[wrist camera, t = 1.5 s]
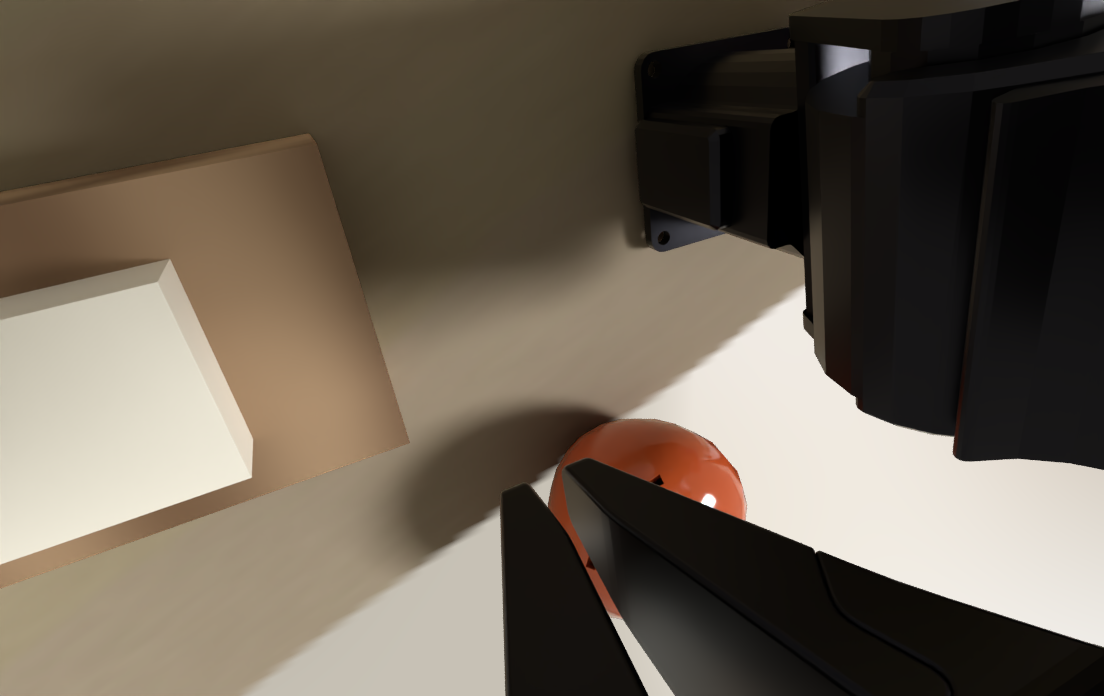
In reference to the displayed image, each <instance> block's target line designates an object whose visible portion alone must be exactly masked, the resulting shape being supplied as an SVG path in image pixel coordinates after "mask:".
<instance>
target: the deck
mask: <svg viewBox="0 0 1104 696" xmlns="http://www.w3.org/2000/svg"><path fill="white" fill-rule="evenodd" d="M166 259H170V260H171V262H172V264H173V267H174V269H175V271H176V273H177V275H178V277H179V280H180V282H181V284H182V286H183V288H184V290H185V293H186V295H187V297H188V299H189V301H190V303H191V306H192V308H193V310H194V312H195V314H196V316H197V319H198V321H199V323H200V325H201V327H202V329H203V332H204V334H205V336H206V338H207V340H208V342H209V345H210V347H211V349H212V351H213V353H214V355H215V358H216V360H217V362H218V364H219V366H220V368H221V371H222V373H223V375H224V377H225V379H226V381H227V384H228V386H229V388H230V390H231V392H232V394H233V397H234V399H235V401H236V403H237V405H238V407H239V410H240V412H241V414H242V416H243V418H244V420H245V423H246V425H247V427H248V429H249V431H250V433H251V436H252V438H253V455H252V478H249V479H246V480H244V481H241V482H238V483H235V484H232V485H229V486H226V487H223V488H220V489H218V490H215V491H212V492H209V493H206V494H203V495H200V496H197V497H194V498H192V499H189V500H186V501H183V502H180V503H177V504H174V505H171V506H168V507H165V508H163V509H160V510H157V511H154V512H151V513H148V514H145V515H142V516H139V517H137V518H134V519H131V520H128V521H125V522H122V523H119V524H116V525H113V526H111V527H108V528H105V529H102V530H99V531H96V532H93V533H90V534H87V535H84V536H82V537H79V538H76V539H73V540H70V541H67V542H64V543H61V544H58V545H56V546H53V547H50V548H47V549H44V550H41V551H38V552H35V553H32V554H30V555H27V556H24V557H21V558H18V559H15V560H12V561H9V562H6V563H3V564H1V565H0V588H3V587H6V586H9V585H12V584H15V583H17V582H20V581H23V580H26V579H29V578H31V577H34V576H37V575H40V574H43V573H45V572H48V571H51V570H54V569H57V568H60V567H62V566H65V565H68V564H71V563H74V562H76V561H79V560H82V559H85V558H88V557H90V556H93V555H96V554H99V553H102V552H104V551H107V550H110V549H113V548H116V547H119V546H121V545H124V544H127V543H130V542H133V541H135V540H138V539H141V538H144V537H147V536H149V535H152V534H155V533H158V532H161V531H164V530H166V529H169V528H172V527H175V526H178V525H180V524H183V523H186V522H189V521H192V520H194V519H197V518H200V517H203V516H206V515H209V514H211V513H214V512H217V511H220V510H223V509H225V508H228V507H231V506H234V505H237V504H239V503H242V502H245V501H248V500H251V499H253V498H256V497H259V496H262V495H265V494H268V493H270V492H273V491H276V490H279V489H282V488H284V487H287V486H290V485H293V484H296V483H298V482H301V481H304V480H307V479H310V478H313V477H315V476H318V475H321V474H324V473H327V472H329V471H332V470H335V469H338V468H341V467H343V466H346V465H349V464H352V463H355V462H358V461H360V460H363V459H366V458H369V457H372V456H374V455H377V454H380V453H383V452H386V451H388V450H391V449H394V448H397V447H400V446H402V445H405V444H408V443H410V442H409V438H408V435H407V432H406V429H405V426H404V422H403V419H402V416H401V413H400V410H399V406H398V403H397V400H396V397H395V393H394V390H393V387H392V384H391V381H390V377H389V374H388V371H387V368H386V365H385V361H384V358H383V355H382V352H381V348H380V345H379V342H378V339H377V336H376V332H375V329H374V326H373V323H372V320H371V316H370V313H369V310H368V307H367V303H366V300H365V297H364V294H363V291H362V287H361V284H360V281H359V278H358V275H357V271H356V268H355V265H354V262H353V258H352V255H351V252H350V249H349V246H348V242H347V239H346V236H345V233H344V230H343V226H342V223H341V220H340V217H339V213H338V210H337V207H336V204H335V201H334V197H333V194H332V191H331V188H330V185H329V181H328V178H327V175H326V172H325V168H324V165H323V162H322V159H321V156H320V152H319V149H318V146H317V143H316V142H315V141H314V139H313V138H312V137H311V135H310V134H309V133H307V134H302V135H297V136H292V137H286V138H281V139H276V140H271V141H265V142H260V143H255V144H249V145H244V146H239V147H234V148H228V149H223V150H218V151H213V152H207V153H202V154H197V155H191V156H186V157H181V158H176V159H170V160H165V161H160V162H155V163H149V164H144V165H139V166H133V167H128V168H123V169H118V170H112V171H107V172H102V173H97V174H91V175H86V176H81V177H76V178H70V179H65V180H60V181H54V182H49V183H44V184H39V185H33V186H28V187H23V188H18V189H12V190H7V191H2V192H0V298H4V297H8V296H13V295H17V294H21V293H25V292H30V291H34V290H38V289H42V288H47V287H51V286H55V285H59V284H64V283H68V282H72V281H77V280H81V279H85V278H89V277H94V276H98V275H102V274H106V273H111V272H115V271H119V270H123V269H128V268H132V267H136V266H141V265H145V264H149V263H153V262H158V261H162V260H166Z"/></svg>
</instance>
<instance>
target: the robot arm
mask: <svg viewBox="0 0 1104 696" xmlns="http://www.w3.org/2000/svg"><path fill="white" fill-rule="evenodd" d="M789 38H790V41H791V43H790V47H789V48H788V46H787V42H788V39H789ZM650 62H652V63H653V64H654V67H655V71H654V74H653V75H652V77H650V76H649V74H648V66H649V64H650ZM634 75H635V89H636V104H637V118H638V124H637V126H636V128H635V138H636V152H637V166H638V180H639V194H640V201H641V203H643V205H644V220H645V234H646V242H647V244H648V246H649V247H650V248H652V249H655V250H657V251H659V252H664V251H668V250H671V249H674V248H678V247H681V246H685V245H688V244H691V243H695V242H698V241H701V240H705V239H708V238H711V237H715V236H718V235H722V234H725V233H727V234H730V235H733V236H736V237H739V238H741V239H744V240H747V241H750V242H753V243H756V244H759V245H762V246H765V247H768V248H771V249H777V250H780V251H783V252H786V253H789V254H792V255H795V256H798V257H800V258H803V259H804V268H805V290H806V309H805V310H804V311H803V325H804V329H805V330H806V331H807V332H808V333H809V335H810V336H811V337H812V338H813V339H814V349H815V355H816V357H817V359H818V361H819V362H820V364H821V366H822V368H823V370H824V372H825V374H826V375H827V376H828V377H830V378H831V379H832V380H833V381H835V382H836V383H837V384H839V385H840V386H841V387H843V388H844V389H845V390H846V391H847V392H849V393H850V394H851V395H853V396H855V397H856V405H857V408H858V409H860V410H861V411H862V412H864V413H866V414H869V415H871V416H874V417H876V418H879V419H881V420H884V421H886V422H889V423H891V424H893V425H896V426H899V427H903V428H907V429H911V430H915V431H919V432H924V433H927V434H932V435H941V436H950V437H954V444H953V455H954V456H955V457H956V458H957V459H959V460H962V461H986V460H1002V459H1028V460H1040V461H1051V462H1063V463H1072V464H1076V465H1082V466H1087V467H1092V468H1097V469H1102V470H1104V0H829V1H827V2H824V3H821V4H818V5H815V6H812V7H809V8H806V9H804V10H801V11H798V12H795V13H792V14H790V15H789V27H784V28H778V29H773V30H767V31H761V32H756V33H750V34H745V35H739V36H734V37H728V38H723V39H717V40H711V41H706V42H700V43H695V44H689V45H684V46H678V47H673V48H667V49H661V50H656V51H650V52H646V53H644V54H642V55H641V56H640V57H639V58H638V59H637V61H636V64H635V70H634ZM661 232H663V233H664V236H663V239H662V240H661V241H660V242H658V236H659V234H660V233H661ZM562 480H563V486H564V492H565V498H566V504H567V510H568V514H569V517H570V520H571V522H572V525H573V527H574V529H575V531H576V533H577V535H578V536H579V538H580V540H581V542H582V544H583V546H584V548H585V550H586V552H587V553H588V555H589V557H590V559H591V561H592V563H593V565H594V567H595V569H596V570H597V572H598V574H599V576H600V578H601V580H602V582H603V584H604V586H605V587H606V589H607V591H608V593H609V595H610V597H611V599H612V601H613V602H614V604H615V606H616V608H617V610H618V611H619V613H620V615H621V617H622V618H623V620H624V621H625V623H626V625H627V626H628V628H629V629H630V631H631V632H632V634H633V635H634V637H635V638H636V639H637V641H638V643H639V644H640V645H641V647H642V648H643V650H644V651H645V653H646V654H647V655H648V657H649V658H650V660H651V661H652V663H653V664H654V666H655V667H656V669H657V670H658V672H659V673H660V674H661V676H662V677H663V679H664V680H665V682H666V683H667V685H668V686H669V687H670V689H671V690H672V692H673V693H674V695H675V696H1104V647H1102V646H1098V645H1095V644H1091V643H1088V642H1084V641H1081V640H1078V639H1075V638H1072V637H1068V636H1065V635H1062V634H1059V633H1056V632H1053V631H1050V630H1046V629H1043V628H1040V627H1037V626H1034V625H1031V624H1027V623H1025V622H1021V621H1018V620H1015V619H1012V618H1009V617H1006V616H1002V615H999V614H996V613H993V612H990V611H987V610H984V609H981V608H977V607H974V606H971V605H968V604H965V603H962V602H959V601H955V600H952V599H949V598H946V597H943V596H940V595H937V594H935V593H932V592H929V591H926V590H923V589H920V588H917V587H914V586H911V585H908V584H905V583H902V582H899V581H896V580H894V579H891V578H888V577H886V576H883V575H880V574H878V573H875V572H872V571H870V570H867V569H865V568H862V567H859V566H857V565H854V564H852V563H849V562H847V561H844V560H841V559H839V558H837V557H834V556H832V555H829V554H826V553H824V552H822V551H818V552H816V554H815V551H814V549H813V548H811V547H809V546H807V545H804V544H802V543H799V542H797V541H794V540H792V539H789V538H787V537H784V536H782V535H779V534H777V533H774V532H772V531H770V530H767V529H764V528H762V527H759V526H757V525H755V524H752V523H750V522H747V521H745V520H742V519H740V518H737V517H735V516H733V515H730V514H728V513H725V512H723V511H720V510H718V509H715V508H713V507H710V506H708V505H705V504H703V503H700V502H698V501H696V500H693V499H691V498H688V497H686V496H683V495H681V494H678V493H676V492H673V491H671V490H668V489H666V488H663V487H661V486H659V485H656V484H654V483H651V482H649V481H646V480H644V479H641V478H639V477H636V476H634V475H631V474H629V473H626V472H624V471H622V470H619V469H617V468H614V467H612V466H609V465H607V464H604V463H602V462H599V461H597V460H594V459H592V458H583V459H581V460H578V461H576V462H573V463H571V464H568V465H566V466H564V468H563V469H562ZM500 519H501V554H502V588H503V624H504V659H505V693H506V696H648V694H647V692H646V690H645V688H644V686H643V684H642V682H641V680H640V677H639V675H638V673H637V672H636V670H635V668H634V665H633V663H632V661H631V659H630V657H629V655H628V653H627V651H626V649H625V647H624V645H623V643H622V641H621V639H620V637H619V635H618V633H617V631H616V629H615V627H614V625H613V623H612V621H611V619H610V617H609V615H608V613H607V611H606V609H605V607H604V604H603V602H602V600H601V598H600V596H599V594H598V592H597V590H596V588H595V586H594V584H593V582H592V580H591V578H590V576H589V574H588V572H587V570H586V568H585V566H584V564H583V562H582V560H581V558H580V556H579V554H578V552H577V550H576V548H575V546H574V544H573V542H572V540H571V538H570V537H569V535H568V533H567V532H566V530H565V529H564V528H563V526H562V525H561V524H560V522H559V521H558V520H557V518H556V517H555V516H554V515H553V513H552V512H551V511H550V510H549V508H548V507H547V506H546V504H545V503H544V502H543V501H542V499H541V498H540V497H539V496H538V494H537V493H536V492H535V490H534V489H533V488H532V487H531V486H530V485H529V484H528V483H525V482H524V483H521V484H518V485H516V486H513V487H511V488H508V489H506V490H503V491H502V492H501V494H500Z"/></svg>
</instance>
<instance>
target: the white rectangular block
mask: <svg viewBox="0 0 1104 696" xmlns="http://www.w3.org/2000/svg"><path fill="white" fill-rule="evenodd" d="M252 455H253V438H252V436H251V433H250V431H249V429H248V427H247V425H246V423H245V420H244V418H243V416H242V414H241V412H240V410H239V407H238V405H237V403H236V401H235V399H234V397H233V394H232V392H231V390H230V388H229V386H228V384H227V381H226V379H225V377H224V375H223V373H222V371H221V368H220V366H219V364H218V362H217V360H216V358H215V355H214V353H213V351H212V349H211V347H210V345H209V342H208V340H207V338H206V336H205V334H204V332H203V329H202V327H201V325H200V323H199V321H198V319H197V316H196V314H195V312H194V310H193V308H192V306H191V303H190V301H189V299H188V297H187V295H186V293H185V290H184V288H183V286H182V284H181V282H180V280H179V277H178V275H177V273H176V271H175V269H174V267H173V264H172V262H171V260H170V259H166V260H162V261H158V262H153V263H149V264H145V265H141V266H136V267H132V268H128V269H123V270H119V271H115V272H111V273H106V274H102V275H98V276H94V277H89V278H85V279H81V280H77V281H72V282H68V283H64V284H59V285H55V286H51V287H47V288H42V289H38V290H34V291H30V292H25V293H21V294H17V295H13V296H8V297H4V298H0V565H1V564H3V563H6V562H9V561H12V560H15V559H18V558H21V557H24V556H27V555H30V554H32V553H35V552H38V551H41V550H44V549H47V548H50V547H53V546H56V545H58V544H61V543H64V542H67V541H70V540H73V539H76V538H79V537H82V536H84V535H87V534H90V533H93V532H96V531H99V530H102V529H105V528H108V527H111V526H113V525H116V524H119V523H122V522H125V521H128V520H131V519H134V518H137V517H139V516H142V515H145V514H148V513H151V512H154V511H157V510H160V509H163V508H165V507H168V506H171V505H174V504H177V503H180V502H183V501H186V500H189V499H192V498H194V497H197V496H200V495H203V494H206V493H209V492H212V491H215V490H218V489H220V488H223V487H226V486H229V485H232V484H235V483H238V482H241V481H244V480H246V479H249V478H252Z"/></svg>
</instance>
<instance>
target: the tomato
mask: <svg viewBox="0 0 1104 696" xmlns="http://www.w3.org/2000/svg"><path fill="white" fill-rule="evenodd" d="M583 458H592V459H594V460H597V461H599V462H602V463H604V464H607V465H609V466H612V467H614V468H617V469H619V470H622V471H624V472H626V473H629V474H631V475H634V476H636V477H639V478H641V479H644V480H646V481H649V482H651V483H654V484H656V485H659V486H661V487H663V488H666V489H668V490H671V491H673V492H676V493H678V494H681V495H683V496H686V497H688V498H691V499H693V500H696V501H698V502H700V503H703V504H705V505H708V506H710V507H713V508H715V509H718V510H720V511H723V512H725V513H728V514H730V515H733V516H735V517H737V518H740V519H742V520H745V519H746V510H747V503H746V499H745V495H744V491H743V487H742V484H741V481H740V478H739V475H738V472H737V470H736V469H735V468H734V467H733V466H732V465H731V463H730V462H729V461H728V460H727V459H726V458H725V457H724V455H723V454H722V453H721V452H720V451H719V450H718V448H717V447H716V446H715V445H714V444H713V443H712V442H711V441H709V440H707V439H705V438H703V437H702V436H700V435H698V434H696V433H694V432H692V431H690V430H688V429H685V428H683V427H681V426H678V425H676V424H673V423H669V422H665V421H661V420H657V419H619V420H615V421H612V422H608V423H605V424H602V425H599V426H598V427H596V428H594V429H592V430H590V431H589V432H587V433H585V434H583V435H582V436H580V437H579V438H578V439H577V440H576V441H575V442H574V443H573V444H572V446H571V447H570V448H569V450H568V451H567V452H566V454H565V455H564V457H563V459H562V460H561V462H560V464H559V465H558V467H557V469H556V472H555V475H554V480H553V483H552V487H551V492H550V496H549V502H548V508H549V510H550V511H551V512H552V513H553V515H554V516H555V517H556V518H557V520H558V521H559V522H560V524H561V525H562V526H563V528H564V529H565V530H566V532H567V533H568V535H569V537H570V538H571V540H572V542H573V544H574V546H575V548H576V550H577V552H578V554H579V556H580V558H581V560H582V562H583V564H584V566H585V568H586V570H587V572H588V574H589V576H590V578H591V580H592V582H593V584H594V586H595V588H596V590H597V592H598V594H599V596H600V598H601V600H602V602H603V604H604V607H605V609H606V611H607V613H608V615H609V617H611V618H617V619H623V618H622V617H621V615H620V613H619V611H618V610H617V608H616V606H615V604H614V602H613V601H612V599H611V597H610V595H609V593H608V591H607V589H606V587H605V586H604V584H603V582H602V580H601V578H600V576H599V574H598V572H597V570H596V569H595V567H594V565H593V563H592V561H591V559H590V557H589V555H588V553H587V552H586V550H585V548H584V546H583V544H582V542H581V540H580V538H579V536H578V535H577V533H576V531H575V529H574V527H573V525H572V522H571V520H570V517H569V514H568V510H567V504H566V498H565V492H564V486H563V480H562V469H563V468H564V466H566V465H568V464H571V463H573V462H576V461H578V460H581V459H583Z"/></svg>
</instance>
